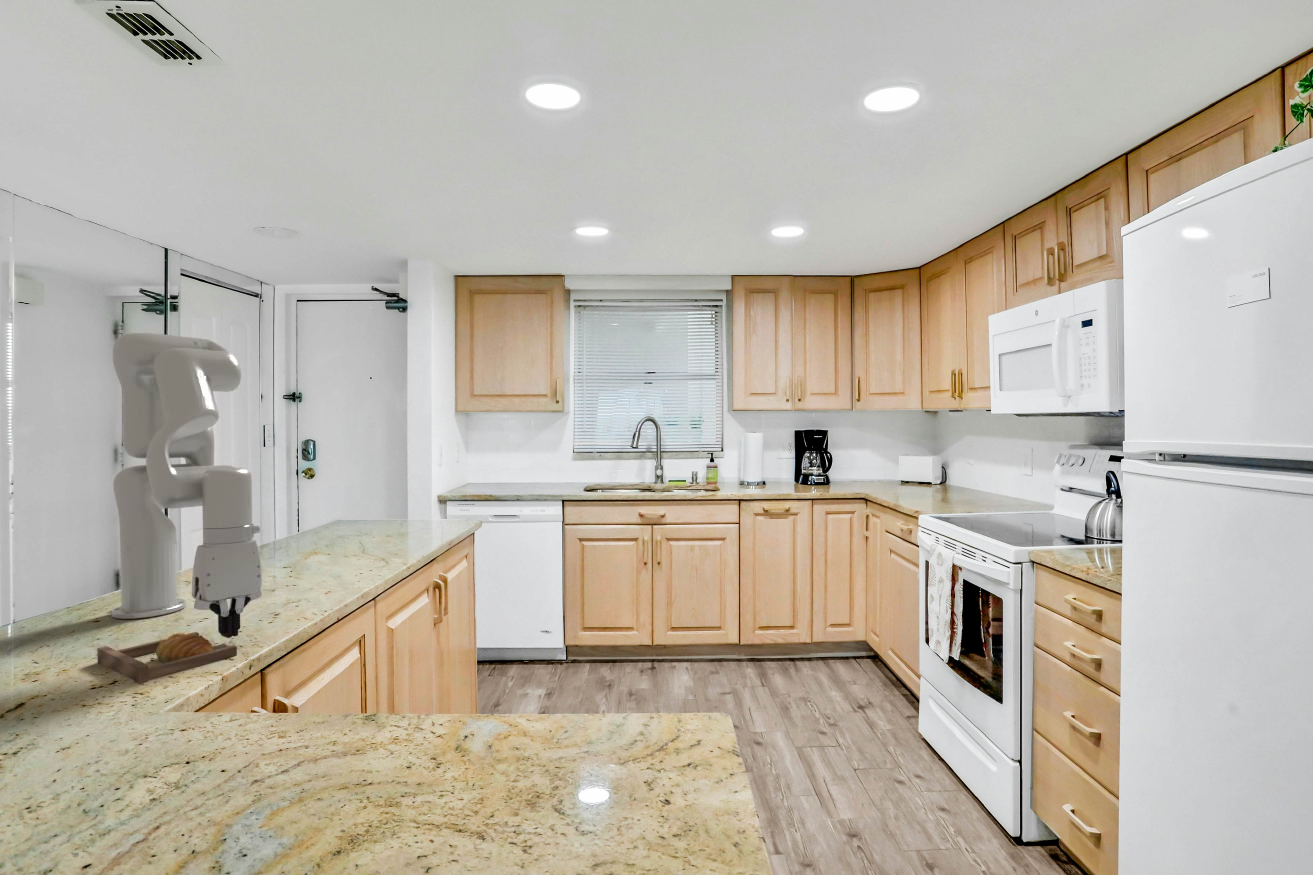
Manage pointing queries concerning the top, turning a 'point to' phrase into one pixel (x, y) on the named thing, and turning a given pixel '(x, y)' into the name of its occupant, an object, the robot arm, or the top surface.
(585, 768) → the top surface
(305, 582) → the top surface
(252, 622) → the top surface
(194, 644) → the pastry
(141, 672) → the bay
